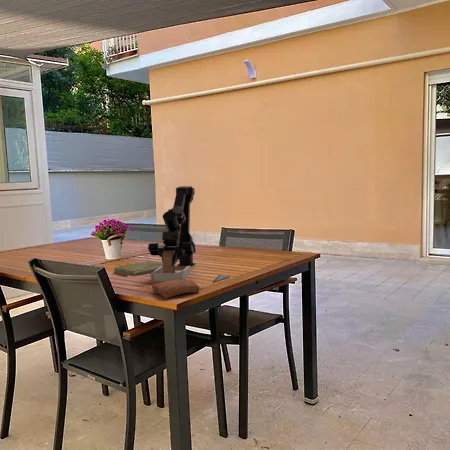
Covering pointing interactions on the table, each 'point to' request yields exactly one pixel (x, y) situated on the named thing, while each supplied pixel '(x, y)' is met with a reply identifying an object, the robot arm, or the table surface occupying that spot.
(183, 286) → the ceramic shard
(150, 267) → the decorative tile
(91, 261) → the table surface
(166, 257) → the brown rectangular block
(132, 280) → the table surface
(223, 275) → the mat
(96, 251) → the table surface
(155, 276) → the rack
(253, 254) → the table surface
